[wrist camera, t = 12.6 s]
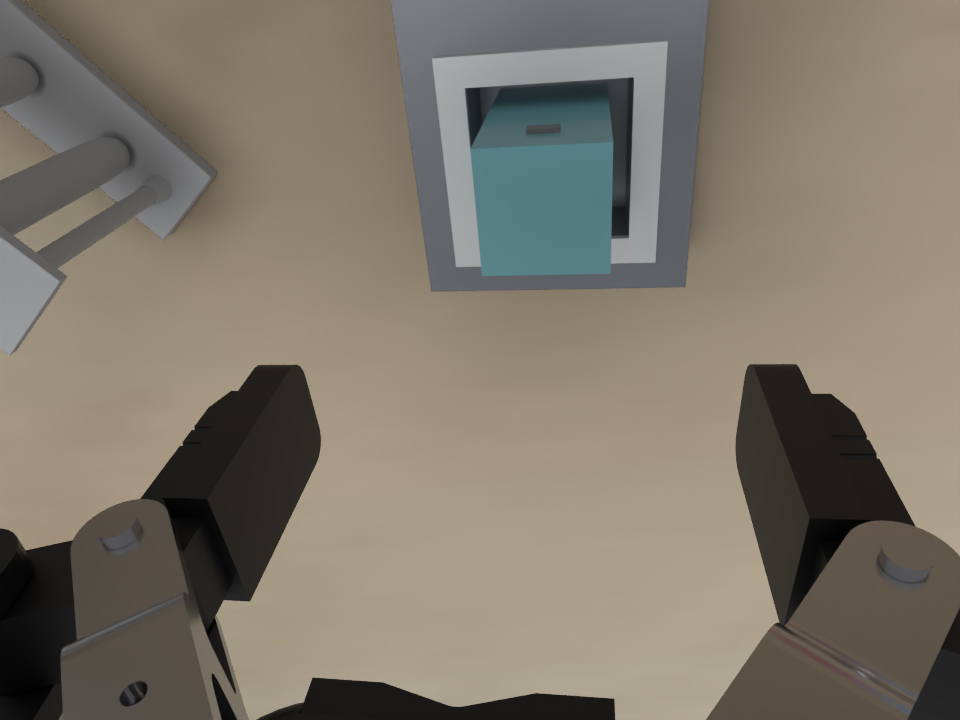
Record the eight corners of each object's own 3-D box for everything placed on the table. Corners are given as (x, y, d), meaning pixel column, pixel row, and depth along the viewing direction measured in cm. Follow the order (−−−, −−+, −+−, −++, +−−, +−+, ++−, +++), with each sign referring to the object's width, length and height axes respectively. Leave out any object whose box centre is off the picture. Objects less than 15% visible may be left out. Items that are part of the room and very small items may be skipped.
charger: (507, 190, 28) (481, 276, 22) (500, 84, 26) (469, 144, 19) (605, 186, 28) (610, 274, 21) (607, 78, 25) (613, 137, 19)
